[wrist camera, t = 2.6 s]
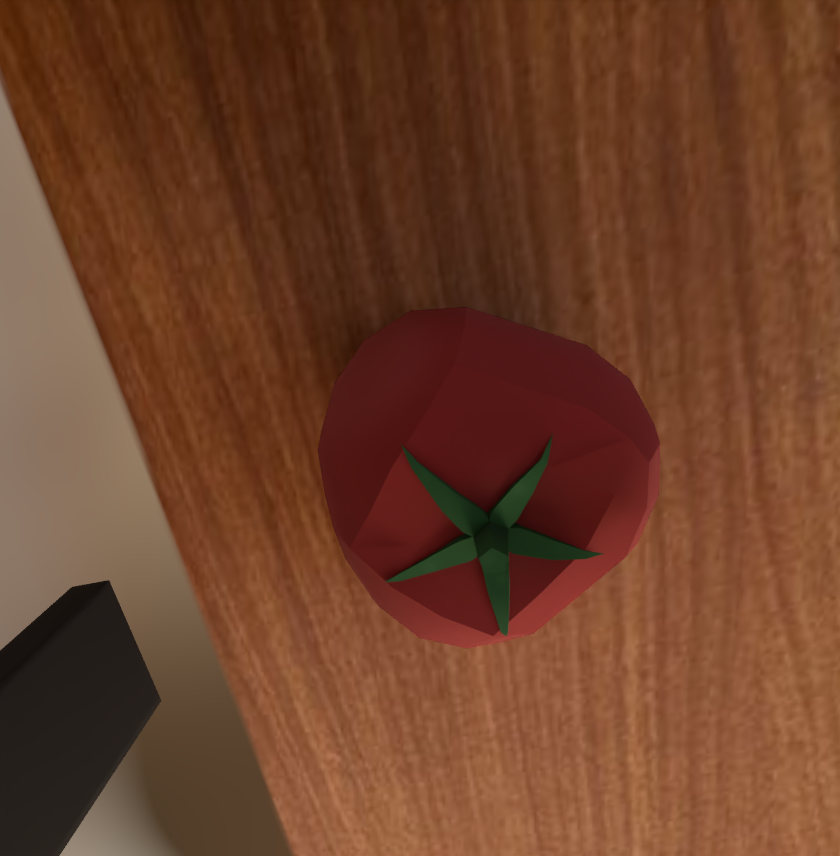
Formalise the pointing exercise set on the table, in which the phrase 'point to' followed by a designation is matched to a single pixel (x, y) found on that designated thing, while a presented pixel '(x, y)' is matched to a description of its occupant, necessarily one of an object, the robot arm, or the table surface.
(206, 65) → the table surface
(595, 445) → the tomato
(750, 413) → the table surface
